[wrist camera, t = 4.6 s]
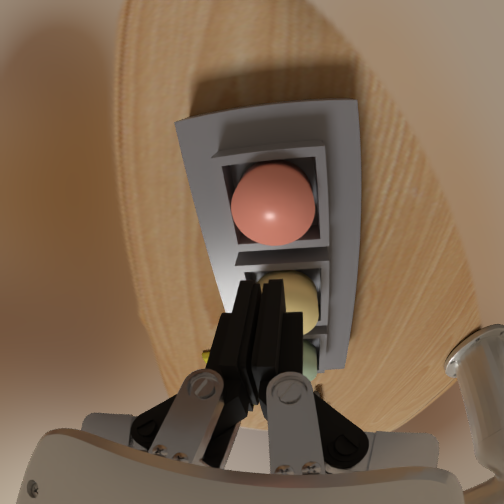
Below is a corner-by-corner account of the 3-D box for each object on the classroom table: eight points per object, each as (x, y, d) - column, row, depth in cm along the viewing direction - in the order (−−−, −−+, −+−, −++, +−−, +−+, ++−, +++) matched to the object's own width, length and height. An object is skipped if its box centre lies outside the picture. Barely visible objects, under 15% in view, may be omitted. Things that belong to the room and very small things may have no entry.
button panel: (347, 98, 17) (365, 101, 13) (342, 348, 32) (345, 382, 28) (188, 116, 19) (162, 127, 15) (248, 351, 34) (242, 384, 30)
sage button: (316, 336, 24) (317, 358, 22) (316, 365, 27) (316, 385, 25) (263, 338, 25) (260, 359, 23) (269, 366, 28) (267, 385, 26)
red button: (309, 155, 17) (311, 166, 14) (314, 224, 19) (316, 243, 17) (232, 163, 17) (223, 175, 15) (244, 229, 20) (239, 248, 18)
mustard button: (316, 267, 20) (318, 290, 18) (317, 314, 23) (318, 337, 21) (249, 271, 21) (244, 293, 19) (258, 316, 24) (255, 338, 22)
